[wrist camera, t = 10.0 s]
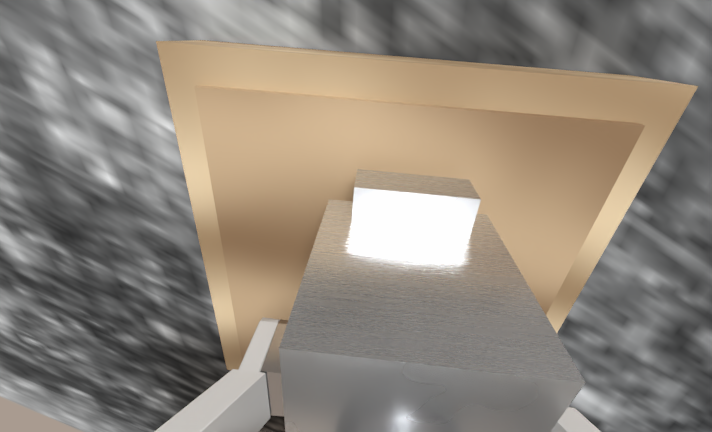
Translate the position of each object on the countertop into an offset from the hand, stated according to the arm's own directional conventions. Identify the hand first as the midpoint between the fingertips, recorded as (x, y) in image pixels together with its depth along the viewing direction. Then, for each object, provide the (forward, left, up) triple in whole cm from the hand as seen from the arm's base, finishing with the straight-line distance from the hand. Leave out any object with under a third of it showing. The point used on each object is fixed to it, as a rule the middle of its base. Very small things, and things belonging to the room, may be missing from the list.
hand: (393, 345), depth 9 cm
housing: (0, 0, -2) cm, 2 cm away
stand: (0, 0, -6) cm, 6 cm away
